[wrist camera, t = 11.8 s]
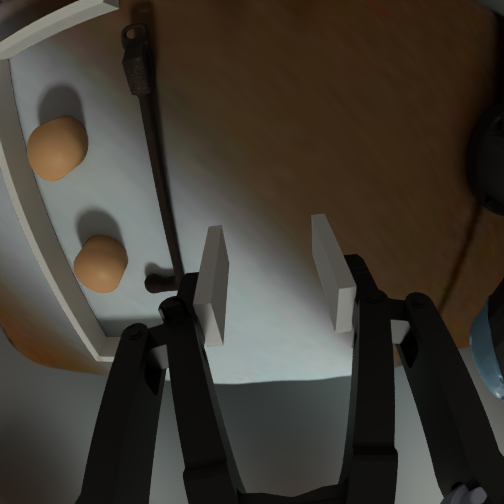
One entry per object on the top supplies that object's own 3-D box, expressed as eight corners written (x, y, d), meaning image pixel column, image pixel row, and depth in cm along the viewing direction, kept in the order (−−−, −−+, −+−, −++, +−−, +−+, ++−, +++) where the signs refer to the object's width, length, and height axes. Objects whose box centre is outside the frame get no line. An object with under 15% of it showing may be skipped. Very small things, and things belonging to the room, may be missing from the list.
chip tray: (118, -2, 19) (102, -9, 16) (195, 339, 44) (193, 360, 40) (0, 54, 19) (-22, 57, 16) (103, 341, 44) (96, 361, 41)
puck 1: (85, 111, 26) (69, 118, 23) (92, 166, 29) (78, 178, 26) (40, 121, 25) (22, 129, 22) (48, 171, 29) (33, 183, 26)
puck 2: (130, 241, 34) (121, 258, 31) (126, 279, 37) (118, 298, 34) (85, 229, 33) (73, 245, 30) (84, 267, 36) (74, 285, 33)
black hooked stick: (150, 275, 40) (104, 33, 21) (187, 273, 40) (155, 22, 21) (144, 304, 35) (83, 33, 17) (185, 302, 36) (143, 18, 17)
